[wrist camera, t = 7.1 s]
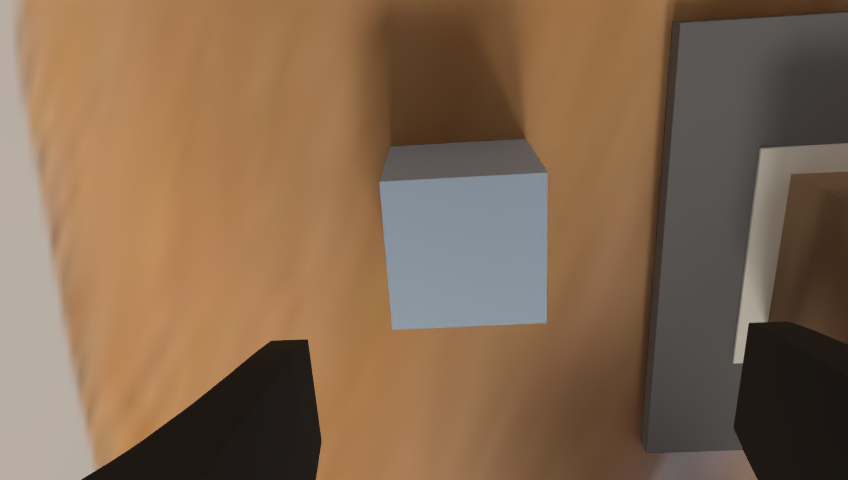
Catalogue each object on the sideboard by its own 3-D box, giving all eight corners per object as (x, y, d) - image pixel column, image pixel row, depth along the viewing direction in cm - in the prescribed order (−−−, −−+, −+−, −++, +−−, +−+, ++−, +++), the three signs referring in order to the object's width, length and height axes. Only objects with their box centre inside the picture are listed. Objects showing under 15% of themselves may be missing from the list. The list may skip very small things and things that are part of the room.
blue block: (526, 262, 20) (546, 323, 16) (400, 269, 20) (392, 330, 16) (525, 138, 19) (547, 172, 15) (390, 145, 19) (379, 181, 15)
